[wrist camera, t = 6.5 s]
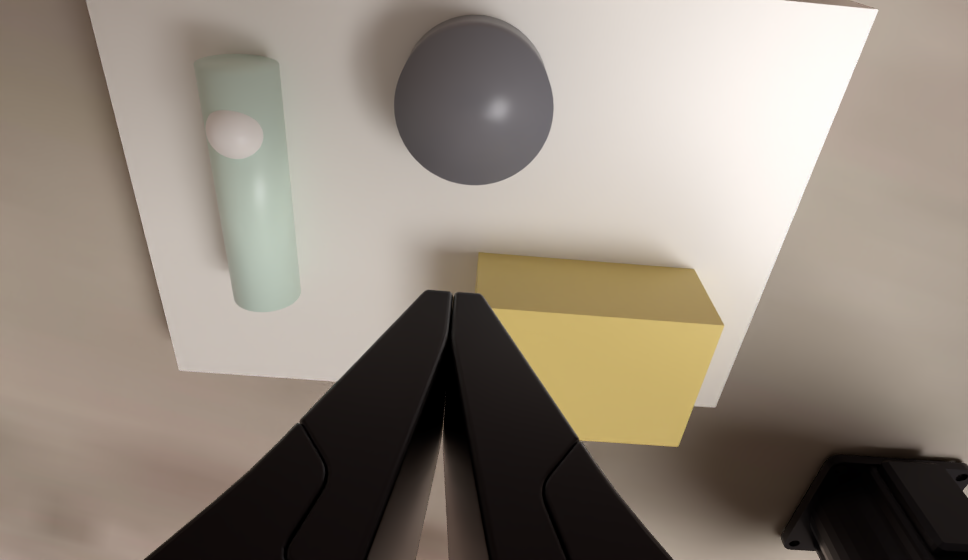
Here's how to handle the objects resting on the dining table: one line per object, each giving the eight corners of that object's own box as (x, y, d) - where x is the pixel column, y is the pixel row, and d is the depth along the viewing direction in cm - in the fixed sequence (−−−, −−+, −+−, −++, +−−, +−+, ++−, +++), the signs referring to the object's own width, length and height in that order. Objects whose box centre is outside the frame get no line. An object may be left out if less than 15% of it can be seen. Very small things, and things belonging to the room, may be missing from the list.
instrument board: (703, 380, 24) (743, 471, 20) (195, 344, 23) (139, 433, 20) (848, 0, 17) (955, 33, 13) (101, -73, 16) (-21, -60, 12)
